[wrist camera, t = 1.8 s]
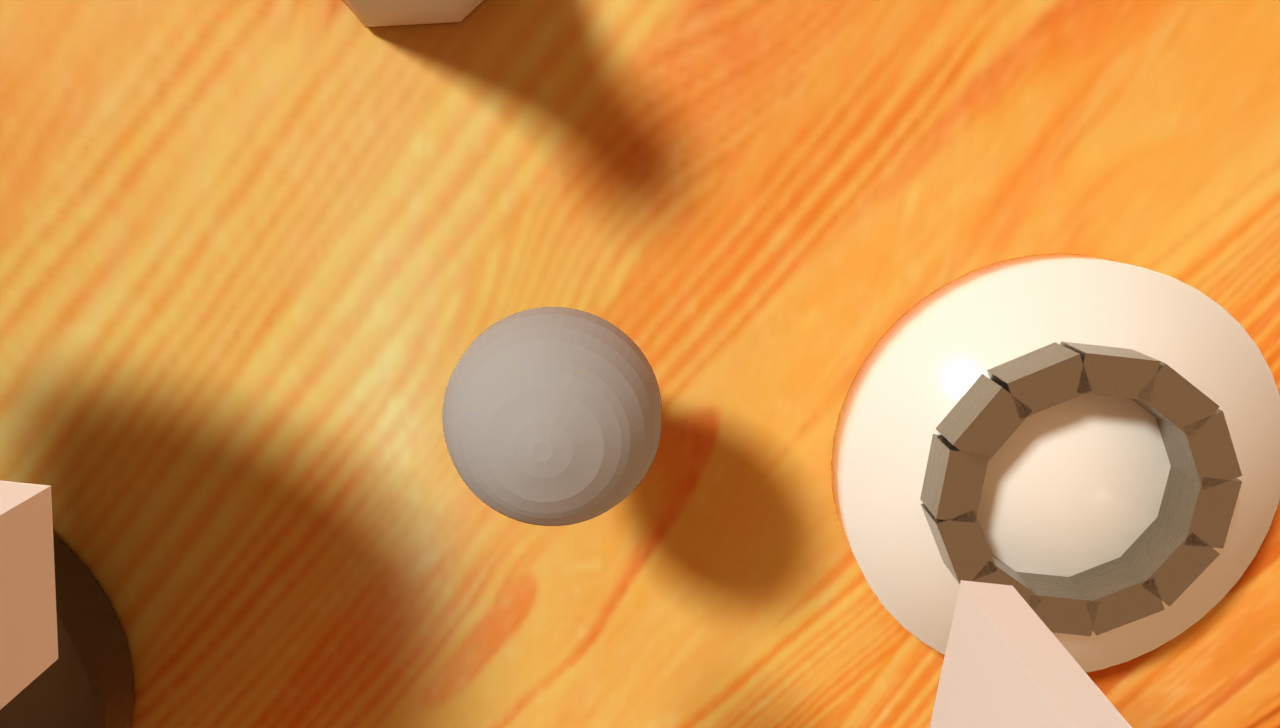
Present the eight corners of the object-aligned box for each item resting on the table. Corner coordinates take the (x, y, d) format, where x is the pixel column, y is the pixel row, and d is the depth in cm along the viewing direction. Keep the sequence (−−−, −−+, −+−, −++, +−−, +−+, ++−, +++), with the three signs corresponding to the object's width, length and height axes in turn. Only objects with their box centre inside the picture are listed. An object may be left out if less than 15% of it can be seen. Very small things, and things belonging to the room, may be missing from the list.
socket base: (802, 625, 32) (812, 655, 30) (869, 230, 29) (885, 236, 27) (1187, 663, 33) (1221, 696, 31) (1295, 278, 30) (1341, 288, 28)
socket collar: (901, 594, 30) (916, 618, 28) (953, 329, 28) (972, 340, 26) (1166, 621, 30) (1195, 646, 29) (1237, 360, 28) (1273, 373, 27)
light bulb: (644, 440, 31) (648, 577, 21) (482, 420, 31) (411, 549, 21) (666, 281, 29) (681, 348, 20) (498, 259, 29) (430, 316, 20)
